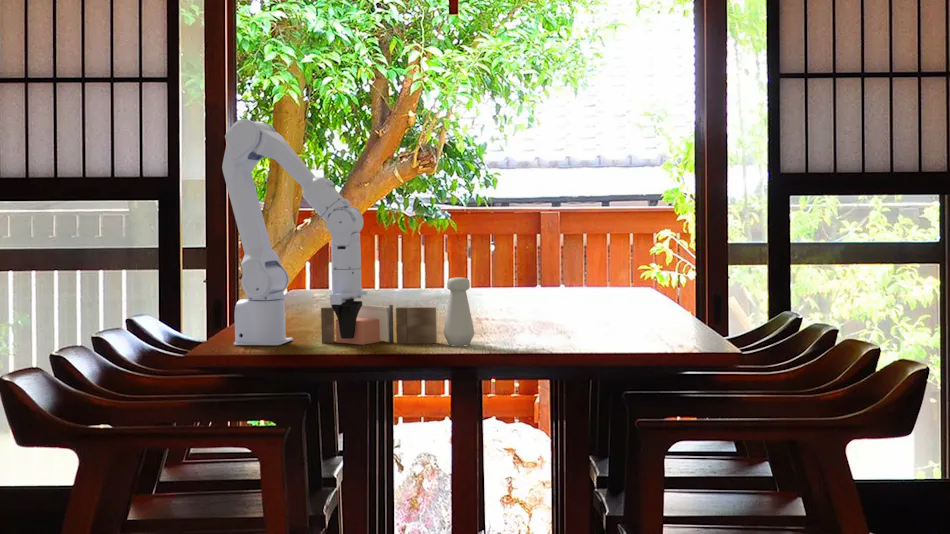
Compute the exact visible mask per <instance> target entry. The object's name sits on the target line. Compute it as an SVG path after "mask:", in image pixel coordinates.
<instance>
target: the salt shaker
mask: <svg viewBox="0 0 950 534" xmlns="http://www.w3.org/2000/svg"><path fill="white" fill-rule="evenodd" d="M470 286H471V283H470V280H469V279H468V278H466V277H460V276H459V277H451V278H449V279H448V280H447V283H446V287H447V290H449V291H450V293H449V299H448V305H447V312H446V317H445V325H444V332H443V335H444V337H445V339H446V343H447V344H449V345H448V346H450V345H454V346H453V347H465V346H464V345H468V346H470V344H471V342H472V340H473V337H474V335H475V327H474V324H473V318H472V315H471V314H472V313H471V310H470V309H471V308H470V305H469V303H470V302H469V299H468V294H467V291H468V290H470Z"/></svg>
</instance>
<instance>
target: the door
mask: <svg viewBox="0 0 950 534" xmlns="http://www.w3.org/2000/svg"><path fill="white" fill-rule="evenodd" d="M357 318H368V319H379V326H380V341H383V342H384V341H385V342H390V341H389V306H384V305H383V306H382V305H374V304H373V305H372V304H364V303H362V306H361V308H360V310H359V313H358V316H357Z"/></svg>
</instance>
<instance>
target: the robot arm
mask: <svg viewBox="0 0 950 534" xmlns="http://www.w3.org/2000/svg"><path fill="white" fill-rule="evenodd" d="M224 139H225V143H226V145H225V148H224V149H225V150H224V155H223V160H222V166H221V169H222V173H223V177H224V181H225V184H226V189H227V192H228V195H229V199H230V204H231V207H232V212H233V215H234V219H235V222H236V227H237V230H238V234H239V238H240V242H241V244H242V245H241V246H242V249H243V253H244V255H243V258H242V261H241V263H240V266H241V269H242V270H241V272H242V276H241V280H240V281H241V283H240V284H241V288H242V290H243V293H244V294H246V297H247V298H244V299H243V298H242V299H239V300H238V301H237V302H236V303H235V306H234V316H233V317H234V338H235V340H234V342H233V346H281V345H283V344H287V343H288V342H291V341H293V339H294V338H293V337H286V336H287V334H286V311H285V309H286V308H285V307H286V305H285V304H286V301H285V294H284V292H285V290H286V289H287V288H288V285H289V281H290V277H289V274H288V272H287V269H285V268H284V266H283V265H282V263H281V260H280V257H279V255H278V254H277V253H276V252H275V251H274V250H273V248H272V246H271V242H270V237H269V233H268V229H267V227H266V226H267V225H266V223H265V219H264V214H263V212H262V206H261V204H260V200H259V195H258V192H257V188H256V185H255V181H254V177H253V174H252V173H253V171H254V169H255V168H256V167H257V165H258V163H259V162H260V161H261V160H263V159H264V158H265V157H266V158H270V159H273V160H274V161H276V163H278V165H279V166H281V167H282V168H283V169H284V171H286V172H287V173H288V174H289V175H290V176H291V178H293V180H294V181H295V182H296V183H298V184H299V186H301V188H302V198H303V199H304V200H305V201H306V203H308V205H309V206H310V207H311V208H312V209H313V210H314V212H316V214H318V216H319V217H320V218H321V219H322V220H323V221H326V222H325V226H326V229H327V231H328V233H329V234H330V237H331V238H330V239H331V240H330V241H331V243H330V244H331V245H330V247H331V249H330V251H331V291H330V294H329V303H330V307H332V308H333V310H334V315H335V316H336V318H337V320H338V322H339V329H340V335H341V338H342V339H352V338H354V333H355V325H356V319H357V316H358V313H359V310H360V308H361V306H362V304H363V301H361V300H356V299H363V297H364V296H367V295H369V294H368V291H367V290H364V289H363V288H362V253H361V252H362V248H361V247H362V245H361V233H360V232H361V231H362V229H363V227H364V224H365V223H364V222H365V221H364V216H363V214H362V213H361V212H360V209H359V208H357V207H355V206H350V204H351V202H350V200H349V199H348V198H344V197H343V196H342V195H341V194H340V193H339V191H338V190H337V189H336V188H335V187H334V186H335V183H334V182H333V180H332V179H326V177H322V176H315V175H314V173H313V172H312V171H311V170H310V168H309V167H308V166H307V164H305V162H304V161H303V160H302V159H301V158H300V156H299V155H298V154H297V153H296V152H295V150H294V149H293V148H292V147H291V146H290V145H289V143H288V142H287V141H286V140H285V138H284V137H283V135H282V134H281V133H279V132H276V129H275V128H274V127H273V126H272V125H271V124H269V123H266V122H257V121H252V120H250V119H246V118H241V119H239V120H236V121H235V122H233V124H232V125H231V127H230V128H229V129H228V131H227V132H226V134H225V135H224Z"/></svg>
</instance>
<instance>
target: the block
mask: <svg viewBox="0 0 950 534" xmlns="http://www.w3.org/2000/svg"><path fill="white" fill-rule="evenodd" d="M335 332H336V333H335V334H336V335H335V338H336V339H335V340H336V343H341V344H351V345H352V344H353V345H369V344H376V343H379V342H380V341H381V340H380V326H379V319H368V318H357V319H356V325H355V333H354V338H352V339H342V338H341V335H340V329H339V322H338V319H336V320H335Z"/></svg>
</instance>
